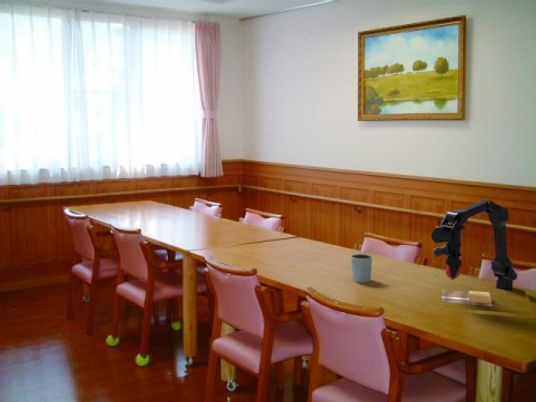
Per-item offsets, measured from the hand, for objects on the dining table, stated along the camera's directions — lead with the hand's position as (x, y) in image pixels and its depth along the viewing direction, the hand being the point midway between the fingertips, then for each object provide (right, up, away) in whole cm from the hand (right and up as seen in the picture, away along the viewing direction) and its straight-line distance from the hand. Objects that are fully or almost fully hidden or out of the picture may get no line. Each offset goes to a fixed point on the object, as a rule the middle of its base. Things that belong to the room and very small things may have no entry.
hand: (452, 276), depth 251 cm
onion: (0, -2, 0) cm, 2 cm away
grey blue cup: (-34, -7, +35) cm, 49 cm away
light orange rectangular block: (+10, -10, -2) cm, 14 cm away
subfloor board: (+6, -11, +2) cm, 13 cm away
